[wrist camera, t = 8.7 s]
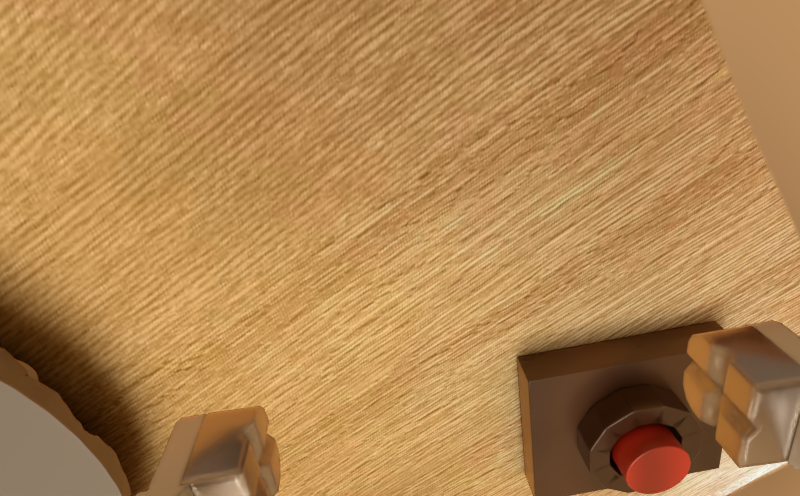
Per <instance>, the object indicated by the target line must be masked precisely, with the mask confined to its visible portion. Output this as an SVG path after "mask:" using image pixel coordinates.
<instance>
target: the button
mask: <svg viewBox="0 0 800 496" xmlns="http://www.w3.org/2000/svg"><path fill="white" fill-rule="evenodd" d="M612 456H613V459H614V461H615V463H616V465H617V467H618V468H619V470H620V472H621V474H622V475H623V477H624V479H625V481H626V482H627V484H628V486H629V487H630V488H631V489H633V490H634V491H636V492H639V493H644V494H653V493H659V492H662V491H665V490H668V489H670V488H672V487H674V486H675V485H677V484H678V483H679V482H680V481H681V480H683V478H684V477H685V476H686V475H687V473H688V471H689V469H690V464H691V462H690V457H689V455H688V453H687V452H686V451H685V449H684V448H683V447H682V445H681V444H680V442H679V441H678V440H677V438H676V437H675V436H674V434H673V433H672V432H671V430H670V429H669V428H667V427H666V426H664V425H661V424H657V423H653V424H648V425H642V426H637V427H636V428H634V429H632V430H631V431H629V432H627V433H626V434H624V435H622V436H621V437H620V438H619V439H618V441H617V442H616V443H615V445H614V446H613V450H612Z"/></svg>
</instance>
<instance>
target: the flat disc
mask: <svg viewBox="0 0 800 496" xmlns="http://www.w3.org/2000/svg"><path fill="white" fill-rule="evenodd" d="M0 496H131V488H130V486H129V484H128V479H127V476H126V474H125V473H124V471H123V469H122V467H121V465H120V462H119V460H118V457H117V455H116V453H115V452H114V450H113V449H112V448H111V447H110V446H108V445H107V444H105V443H104V442H103V441H102V440H101V438H100V437H99V436H97V435H96V436H94V435H92V434H89V433H88V432H86V431H85V430H84V429H83V427H82V425H81V423H80V422H79V421H78V420H77V419H76V418H75V417H74V416H73V414H72V412H71V411H70V409H69V407H68V406H67V405H66V404H65V402H64V401H62V398H61V397H60V395H59V394H58V393H57V392H56V391H54V390H52V389H50V388H48V387H47V386H46V385H45V384H42V383H40V382H39V381H38V375H37V373H36V372H35V370H34V369H33V368H32V367H31V366H29V365H28V364H26V363H24V362H22V361H19V360H16V359H15V358H14V357H12V356H11V354H10V353H9V352H8V351H6V350H5V349H3V348H1V347H0Z"/></svg>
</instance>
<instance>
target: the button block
mask: <svg viewBox="0 0 800 496" xmlns="http://www.w3.org/2000/svg"><path fill="white" fill-rule="evenodd" d="M718 330H724V329H723V328H722V327H721V326H720V325H719V324H718V323H716V322H715V321H714V322H708V323H703V324H697V325H692V326H686V327H681V328H675V329H670V330H664V331H659V332H653V333H648V334H643V335H637V336H632V337H626V338H621V339H615V340H610V341H604V342H599V343H593V344H588V345H582V346H577V347H571V348H566V349H560V350H555V351H550V352H544V353H539V354H533V355H528V356H522V357H518V358H517V364H518V378H519V393H520V407H521V421H522V435H523V449H524V464H525V475H526V478H527V480H528V483H529V486H530V489H531V491H532V494H533V496H571V495H576V494H581V493H587V492H592V491H598V490H603V489H613V490H618V491H622V492H627V493H629V492H635V491H634V490H633V489H631V488H630V487H629V486H628V484H627V482H626V481H625V479H624V477H623V475H622V474H621V472H620V470H619V468H618V467H617V465H616V463H615V461H614V459H613V456H612V450H613V446H614V445H615V443H616V442H617V441H618V439H619V438H620V437H621V436H622V435H624V434H626V433H627V432H629V431H631V430H632V429H634V428H636V427H637V426H642V425H648V424H653V423H657V424H661V425H664V426H666V427H667V428H669V429H670V430H671V432H672V433H673V434H674V436H675V437H676V438H677V440H678V441H679V442H680V444H681V445H682V447H683V448H684V449H685V451H686V452H687V453H688V455H689V457H690V462H691V464H690V469H689V471H688V473H687V474H689V473H694V472H700V471H705V470H711V469H716V468H719V464H720V458H721V452H722V447H721V445H720V444H719V443H718V442H717V441H716V439H715V434H716V428H715V427H713V426H710V425H708V424H706V423H704V422H702V421H700V420H699V418H698V417H697V416H696V414H695V413H694V412H693V411H692V409H691V407H690V405H689V403H688V401H687V399H686V395H685V391H684V387H683V379H684V371H685V370H686V368H687V367H688V366H689V365H690V364H691V362H692V361H693V359H692V358H691V357H690V356H689V355H688V353H687V347H688V341H689V340H690V338H691V336H692V335H694V334H700V333H706V332H712V331H718Z"/></svg>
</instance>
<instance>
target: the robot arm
mask: <svg viewBox="0 0 800 496" xmlns="http://www.w3.org/2000/svg"><path fill="white" fill-rule="evenodd" d="M687 353H688V355H689V356H690V357H691V358H692V359H693V361H692V362H691V364H690V365H689V366H688V367H687V368H686V370H685V371H684V379H683V387H684V391H685V395H686V399H687V401H688V403H689V405H690V407H691V409H692V411H693V412H694V413H695V414H696V416H697V417H698V418H699V420H700V421H702V422H704V423H706V424H708V425H710V426H713V427H715V428H716V434H715V439H716V441H717V442H718V443H719V444H720V445H721V447H722V448H723V449H724V450H725V451H726V453H727V454H728V455H729V456H730V457H731V459H732V460H733V461H734V462H735V464H736V465H737V466H738V467H739V468H742V467H749V466H757V465H764V464H771V463H778V462H785V461H788V463H787V464H789V465H791V466H792V467H794V468H796V469H797V470H799V471H800V337H799V336H798V335H796V334H795V333H794V332H792V331H791V330H790V329H788V328H787V327H786V326H785V325H783V324H782V323H780V322H776V321H773V320H771V321H765V322H760V323H755V324H749V325H745V326H741V327H735V328H729V329H724V330H718V331H712V332H706V333H700V334H694V335H692V336H691V338H690V340H689V341H688V347H687ZM268 424H269V420H268V417H267V415H266V412H265V409H264V408H263V407H261V406H256V407H248V408H241V409H234V410H227V411H220V412H213V413H208V414H202V415H195V416H188V417H182V418H180V419H179V420H178V421H177V422H176V423H175V425H174V428H173V430H172V433H171V435H170V438H169V440H168V442H167V445H166V447H165V450H164V452H163V454H162V457H161V459H160V462H159V464H158V467H157V469H156V471H155V474H154V476H153V479H152V481H151V484H150V486H149V488H148V491H144V492H139V493H138V494H137V495H136V496H275V494H276V493H277V492H278V491H279V484H280V457H279V452H278V447H277V444H276V441H275V439H274V438H273V437H271V436H270V435H268V434H267V429H268Z"/></svg>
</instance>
